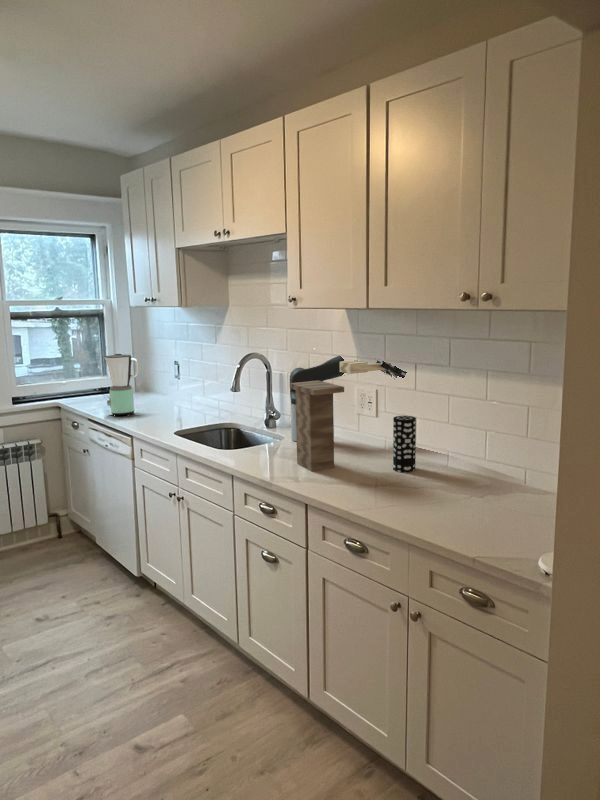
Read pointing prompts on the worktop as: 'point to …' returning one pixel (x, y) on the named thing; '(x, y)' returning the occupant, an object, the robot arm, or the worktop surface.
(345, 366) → the beige stepped hammer block
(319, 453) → the wooden t-shaped post
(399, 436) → the spotted tube
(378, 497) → the worktop surface
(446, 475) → the worktop surface
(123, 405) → the mint green blender
